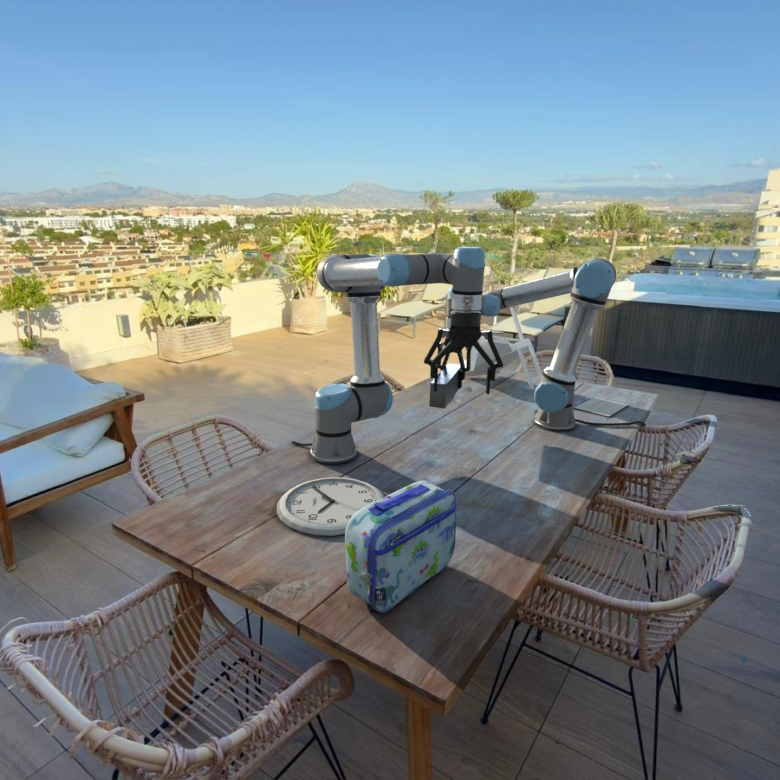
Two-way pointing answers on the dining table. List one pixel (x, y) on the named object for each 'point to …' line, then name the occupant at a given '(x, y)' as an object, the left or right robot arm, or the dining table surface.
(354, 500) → the wall clock
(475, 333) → the left robot arm
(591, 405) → the invitation card
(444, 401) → the bar
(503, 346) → the white plastic object
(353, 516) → the lunch box
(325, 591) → the dining table surface
